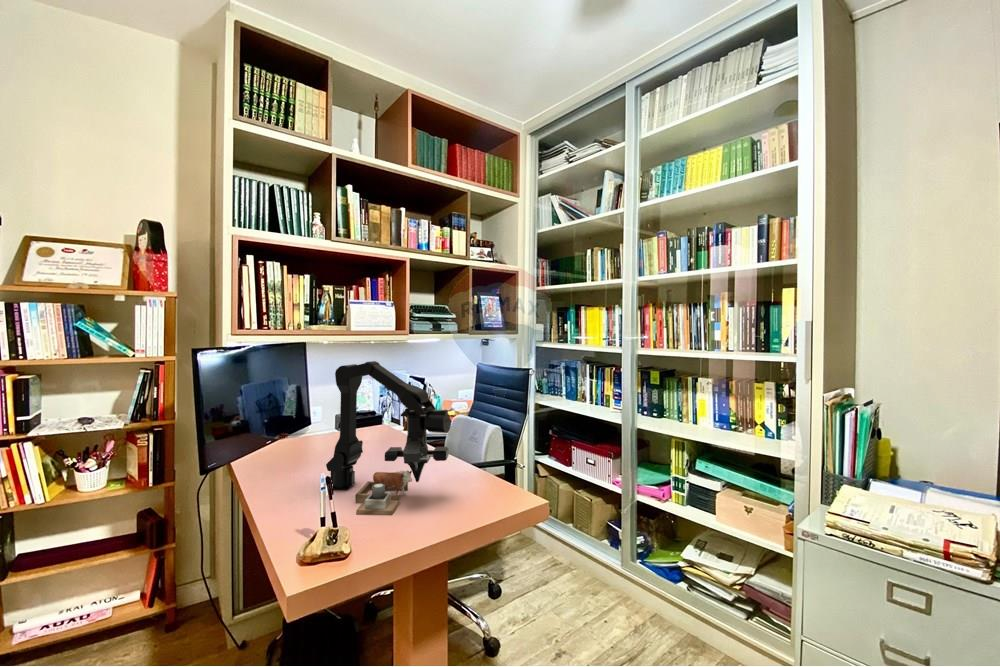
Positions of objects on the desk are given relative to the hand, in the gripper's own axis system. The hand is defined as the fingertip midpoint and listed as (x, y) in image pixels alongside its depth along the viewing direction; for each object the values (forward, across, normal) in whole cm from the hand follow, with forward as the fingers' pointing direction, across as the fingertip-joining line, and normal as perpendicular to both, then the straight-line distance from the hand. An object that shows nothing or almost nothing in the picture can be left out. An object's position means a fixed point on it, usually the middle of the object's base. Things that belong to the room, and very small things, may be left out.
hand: (417, 481), depth 125 cm
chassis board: (+4, -11, -3) cm, 12 cm away
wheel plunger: (+1, -9, -9) cm, 13 cm away
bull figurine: (+5, -7, 0) cm, 9 cm away
